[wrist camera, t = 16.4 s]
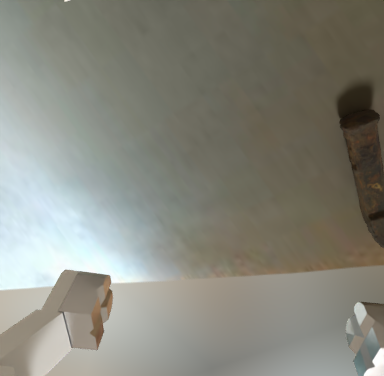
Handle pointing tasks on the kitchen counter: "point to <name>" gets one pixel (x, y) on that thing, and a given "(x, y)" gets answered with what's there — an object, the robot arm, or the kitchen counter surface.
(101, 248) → the kitchen counter surface
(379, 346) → the robot arm
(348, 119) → the hand tool
